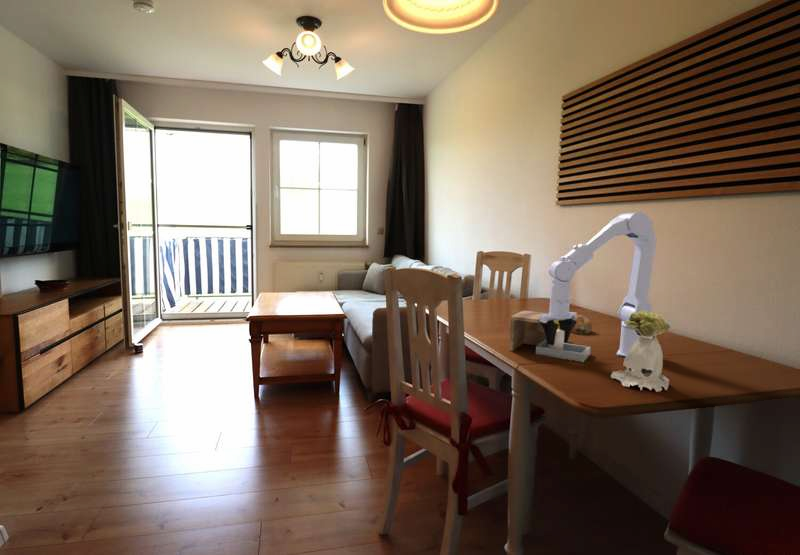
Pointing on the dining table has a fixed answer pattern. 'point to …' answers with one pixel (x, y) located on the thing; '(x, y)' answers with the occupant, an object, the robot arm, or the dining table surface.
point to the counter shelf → (526, 329)
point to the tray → (564, 351)
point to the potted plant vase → (644, 353)
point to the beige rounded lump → (558, 340)
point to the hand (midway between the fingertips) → (557, 343)
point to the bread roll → (582, 325)
